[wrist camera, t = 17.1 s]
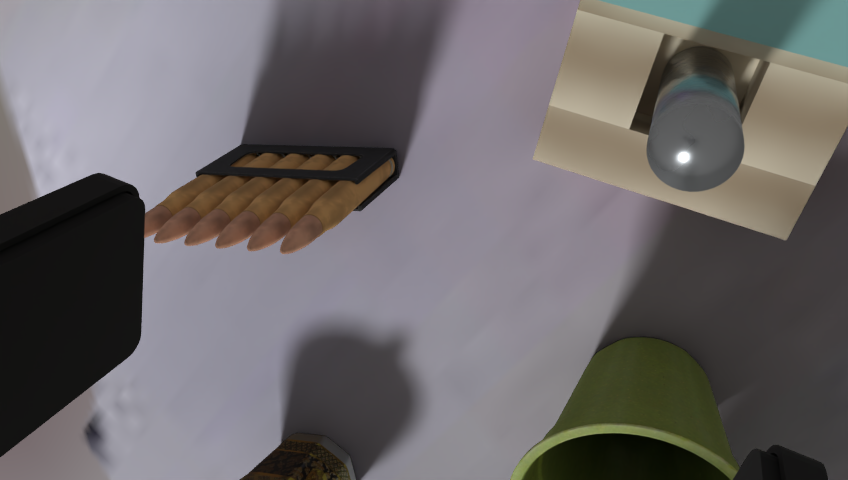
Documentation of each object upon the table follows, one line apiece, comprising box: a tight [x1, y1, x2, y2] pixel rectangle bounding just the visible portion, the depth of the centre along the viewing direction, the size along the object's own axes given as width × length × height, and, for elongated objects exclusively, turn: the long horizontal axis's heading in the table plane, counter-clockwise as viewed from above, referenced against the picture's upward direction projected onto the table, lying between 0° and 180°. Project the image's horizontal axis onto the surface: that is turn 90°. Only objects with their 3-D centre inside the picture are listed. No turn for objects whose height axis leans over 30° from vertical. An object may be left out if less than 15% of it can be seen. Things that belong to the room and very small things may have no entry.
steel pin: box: [646, 46, 745, 192], centre depth 29 cm, size 3×3×10 cm
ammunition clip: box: [144, 144, 399, 254], centre depth 38 cm, size 11×2×12 cm, turn 96°
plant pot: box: [510, 337, 740, 480], centre depth 37 cm, size 12×12×11 cm
